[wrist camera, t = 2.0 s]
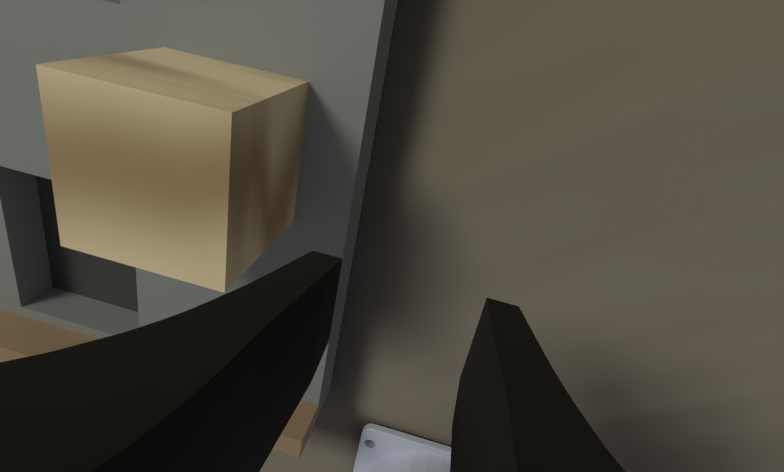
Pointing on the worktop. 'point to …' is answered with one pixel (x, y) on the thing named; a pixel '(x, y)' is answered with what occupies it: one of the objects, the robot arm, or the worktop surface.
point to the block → (172, 160)
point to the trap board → (212, 40)
